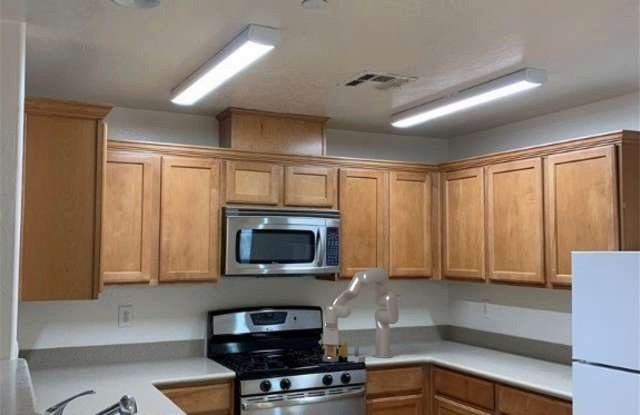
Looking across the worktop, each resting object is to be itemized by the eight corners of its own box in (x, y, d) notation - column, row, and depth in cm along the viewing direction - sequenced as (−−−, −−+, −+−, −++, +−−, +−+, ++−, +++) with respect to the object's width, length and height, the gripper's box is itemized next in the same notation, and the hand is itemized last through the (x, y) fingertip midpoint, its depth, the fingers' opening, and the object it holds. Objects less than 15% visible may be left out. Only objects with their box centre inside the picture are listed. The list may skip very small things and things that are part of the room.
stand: (354, 359, 392) (354, 345, 392) (365, 361, 387) (365, 346, 388) (347, 361, 385) (347, 346, 386) (358, 362, 380) (358, 347, 381)
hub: (328, 358, 391) (329, 346, 392) (341, 360, 385) (342, 347, 386) (319, 360, 383) (319, 347, 384) (332, 362, 377) (332, 349, 378)
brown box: (325, 354, 388) (326, 345, 389) (336, 355, 387) (337, 345, 388) (324, 356, 381) (324, 346, 382) (335, 356, 380) (336, 346, 381)
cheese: (347, 357, 399) (348, 342, 400) (331, 357, 399) (331, 341, 400) (347, 355, 409) (347, 340, 410) (331, 354, 410) (331, 339, 411)
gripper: (317, 326, 383) (316, 355, 382) (345, 327, 382) (344, 356, 380) (318, 324, 391) (317, 353, 389) (345, 326, 389) (345, 354, 387)
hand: (330, 354), depth 385 cm, fingers closed on brown box, 6 cm apart
